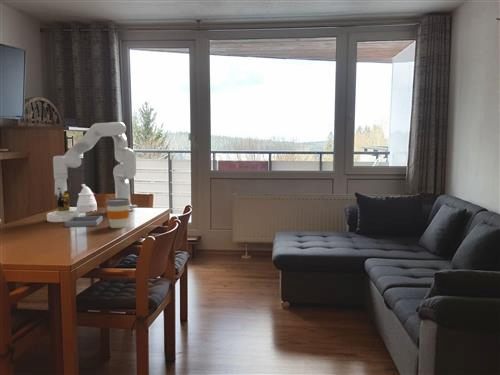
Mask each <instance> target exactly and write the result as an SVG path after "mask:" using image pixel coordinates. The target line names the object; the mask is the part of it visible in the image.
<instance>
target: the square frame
mask: <svg viewBox="0 0 500 375" xmlns="http://www.w3.org/2000/svg"><path fill="white" fill-rule="evenodd" d="M103 220H104V218H103V215H95V216H94V215H93V216H91V215H90V216H89V215H87V216H79V217H72V218H71V219H69V220H68V221H66V222H64V227H66V228H68V227H69V228H71V227H96V226H98V225H99V224H100V223H101V222H103Z"/></svg>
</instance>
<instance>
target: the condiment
mask: <svg viewBox="0 0 500 375" xmlns="http://www.w3.org/2000/svg"><path fill="white" fill-rule="evenodd" d="M60 195H62V194H60ZM63 202H64V206H63V207H58V209H56V210H54V212H55V211H69V210H71V211H72V208H70V197H69V191H68V190H67V191H65V192H64V195H63Z"/></svg>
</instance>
